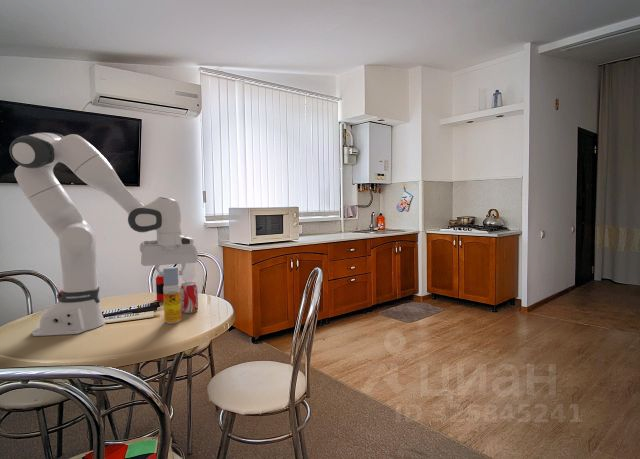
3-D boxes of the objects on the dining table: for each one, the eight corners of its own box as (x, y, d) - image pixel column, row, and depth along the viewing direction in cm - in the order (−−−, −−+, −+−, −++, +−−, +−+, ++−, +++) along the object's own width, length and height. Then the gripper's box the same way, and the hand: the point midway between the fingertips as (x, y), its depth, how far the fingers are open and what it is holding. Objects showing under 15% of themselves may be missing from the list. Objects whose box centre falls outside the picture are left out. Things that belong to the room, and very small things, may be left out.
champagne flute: (200, 303, 172) (198, 251, 171) (192, 307, 166) (190, 253, 164) (187, 302, 174) (185, 250, 172) (178, 306, 167) (176, 252, 166)
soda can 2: (195, 314, 156) (193, 285, 155) (178, 314, 156) (176, 285, 155) (200, 309, 163) (199, 281, 162) (184, 309, 163) (183, 281, 162)
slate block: (163, 285, 142) (163, 269, 142) (164, 282, 147) (164, 267, 146) (178, 284, 144) (177, 268, 143) (178, 281, 148) (177, 266, 148)
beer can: (166, 325, 142) (164, 286, 141) (163, 321, 147) (161, 283, 146) (183, 322, 145) (181, 284, 144) (179, 318, 150) (178, 281, 149)
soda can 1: (176, 297, 183) (175, 273, 182) (168, 301, 175) (167, 276, 174) (162, 297, 184) (161, 273, 183) (153, 301, 176) (152, 276, 175)
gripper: (138, 242, 137) (140, 279, 139) (197, 239, 144) (198, 275, 145) (140, 240, 143) (142, 276, 145) (197, 238, 150) (198, 272, 151)
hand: (171, 275), depth 145 cm, fingers open, 6 cm apart
